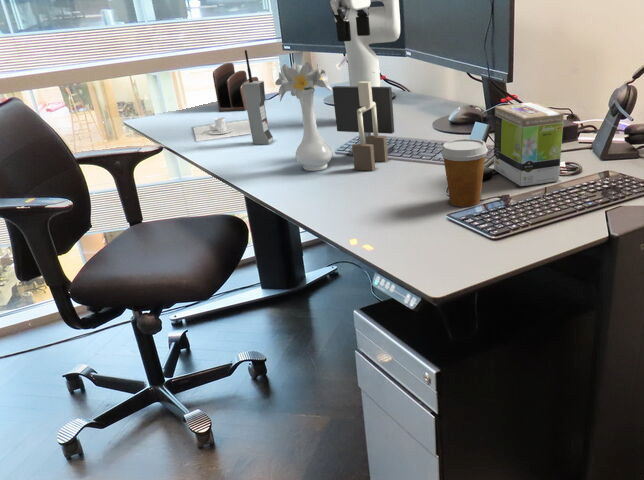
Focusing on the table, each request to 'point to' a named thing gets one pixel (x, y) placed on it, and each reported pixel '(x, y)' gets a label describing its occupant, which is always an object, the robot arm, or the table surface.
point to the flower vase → (307, 112)
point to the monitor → (349, 104)
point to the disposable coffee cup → (464, 170)
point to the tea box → (528, 143)
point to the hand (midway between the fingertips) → (354, 38)
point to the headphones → (374, 144)
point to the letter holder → (230, 88)
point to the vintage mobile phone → (256, 109)
